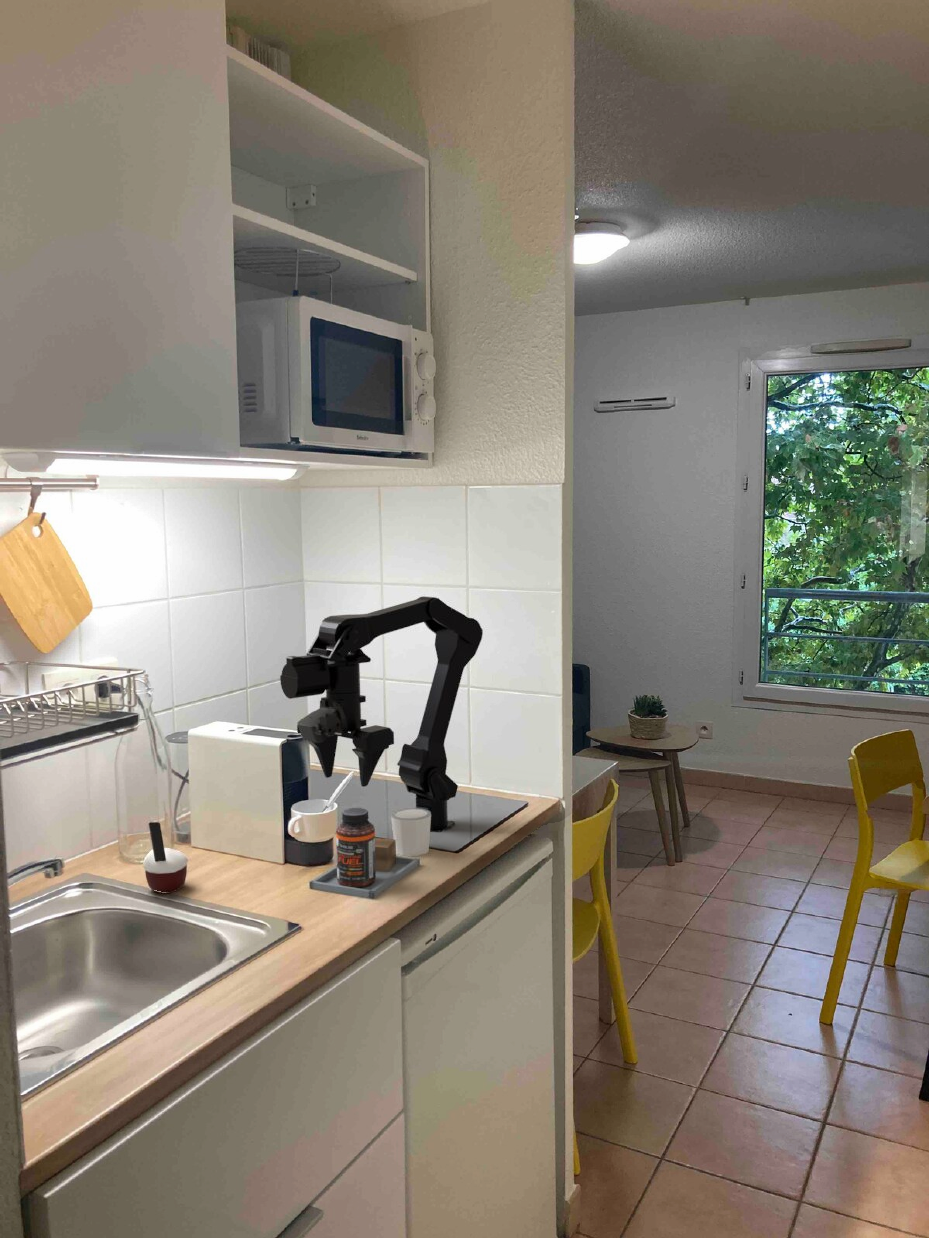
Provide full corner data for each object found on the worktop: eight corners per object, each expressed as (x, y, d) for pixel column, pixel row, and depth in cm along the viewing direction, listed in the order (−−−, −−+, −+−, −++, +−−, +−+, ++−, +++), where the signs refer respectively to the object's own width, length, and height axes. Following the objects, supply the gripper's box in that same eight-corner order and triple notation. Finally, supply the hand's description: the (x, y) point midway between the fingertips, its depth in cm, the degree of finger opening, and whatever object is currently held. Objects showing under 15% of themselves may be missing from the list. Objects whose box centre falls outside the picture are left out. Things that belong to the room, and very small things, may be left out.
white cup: (439, 850, 169) (438, 810, 168) (419, 863, 163) (418, 821, 162) (404, 844, 172) (403, 805, 171) (383, 857, 166) (382, 816, 165)
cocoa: (168, 879, 159) (163, 805, 158) (201, 882, 156) (197, 807, 156) (128, 899, 150) (123, 820, 149) (162, 902, 148) (158, 823, 147)
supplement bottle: (333, 889, 151) (330, 816, 149) (342, 874, 156) (340, 804, 155) (371, 889, 150) (369, 816, 149) (379, 875, 156) (377, 805, 155)
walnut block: (373, 861, 162) (372, 837, 162) (396, 863, 161) (395, 839, 161) (364, 870, 158) (363, 845, 158) (388, 872, 157) (387, 847, 157)
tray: (360, 859, 165) (360, 850, 165) (419, 868, 160) (419, 858, 160) (309, 892, 151) (309, 881, 151) (372, 902, 147) (372, 892, 146)
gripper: (270, 692, 167) (273, 782, 169) (343, 704, 155) (346, 802, 156) (321, 682, 175) (324, 769, 177) (395, 694, 163) (397, 786, 165)
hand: (346, 781), depth 169 cm, fingers open, 9 cm apart
